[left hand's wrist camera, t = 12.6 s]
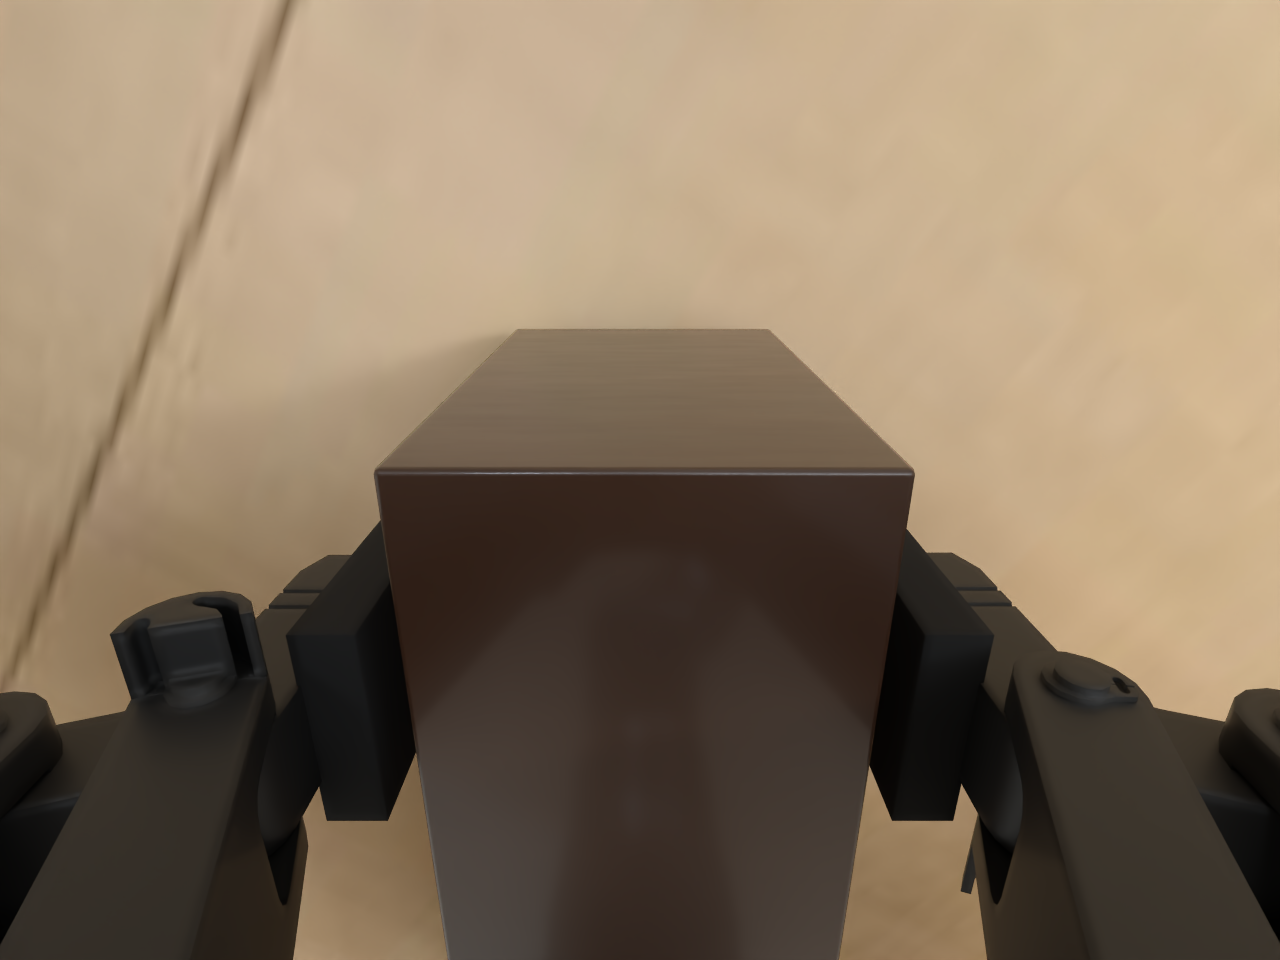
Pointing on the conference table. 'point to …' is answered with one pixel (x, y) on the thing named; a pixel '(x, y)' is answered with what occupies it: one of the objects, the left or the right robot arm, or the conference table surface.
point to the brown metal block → (643, 644)
